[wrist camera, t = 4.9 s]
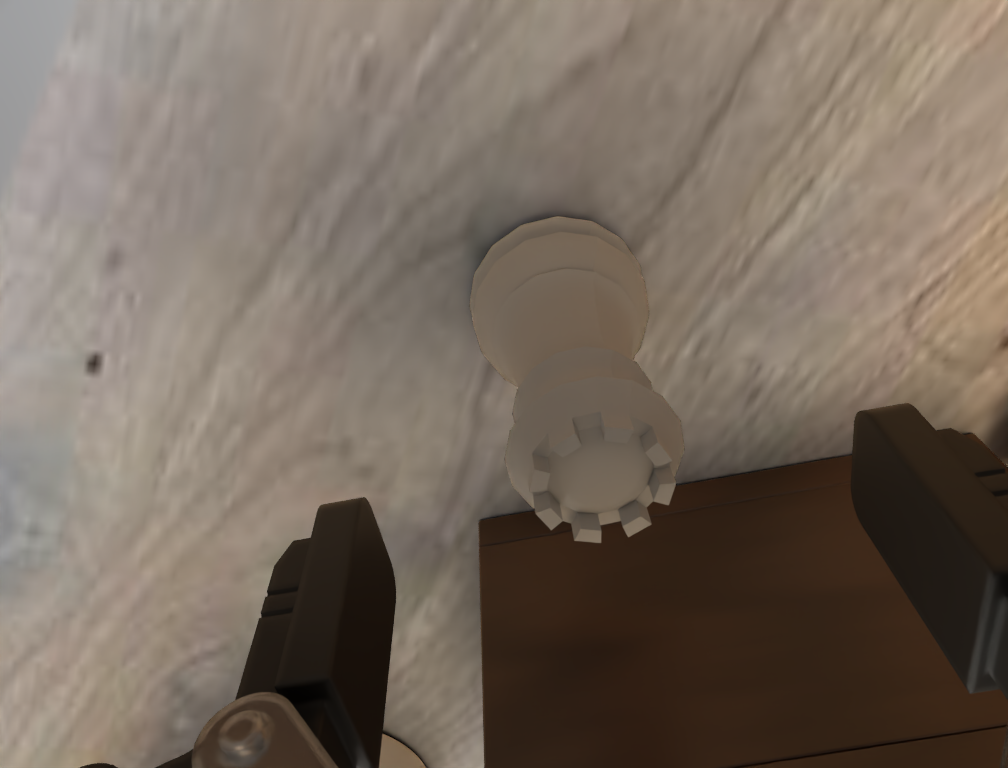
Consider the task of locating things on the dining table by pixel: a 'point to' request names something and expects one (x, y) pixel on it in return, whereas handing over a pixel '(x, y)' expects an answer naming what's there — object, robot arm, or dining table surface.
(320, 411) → the dining table surface
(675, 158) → the dining table surface
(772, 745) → the walnut shelf
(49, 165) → the dining table surface
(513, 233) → the rook chess piece
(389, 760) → the candle holder
